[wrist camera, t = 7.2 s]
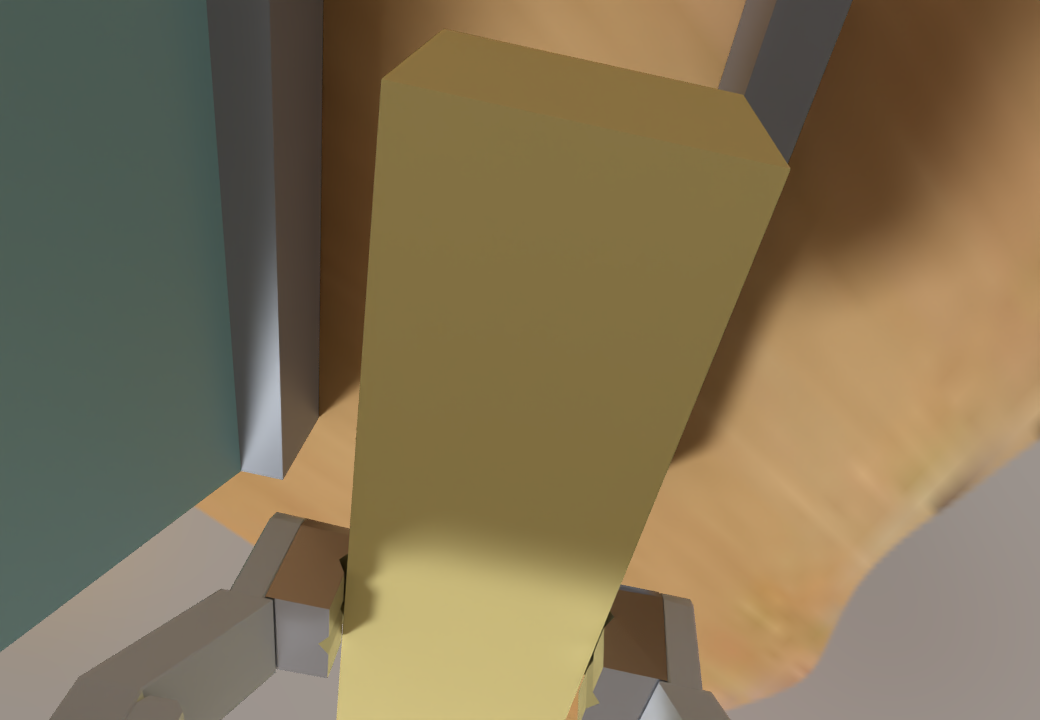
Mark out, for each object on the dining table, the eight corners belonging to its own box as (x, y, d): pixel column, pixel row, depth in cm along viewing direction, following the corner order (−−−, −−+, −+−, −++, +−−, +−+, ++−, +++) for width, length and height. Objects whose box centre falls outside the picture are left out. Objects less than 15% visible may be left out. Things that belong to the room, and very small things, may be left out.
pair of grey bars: (820, -33, 17) (859, -17, 15) (631, 485, 28) (632, 555, 25) (265, -149, 18) (194, -156, 15) (281, 409, 28) (241, 470, 25)
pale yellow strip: (743, 94, 9) (790, 169, 7) (521, 730, 18) (506, 863, 16) (443, 28, 9) (382, 79, 7) (368, 698, 18) (329, 826, 16)
